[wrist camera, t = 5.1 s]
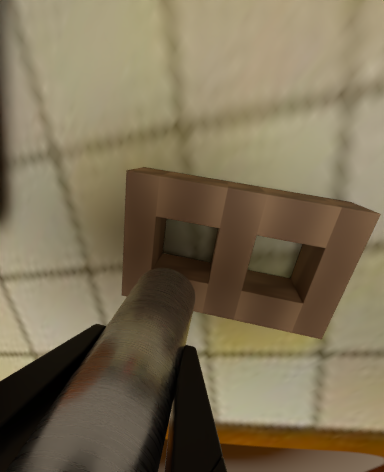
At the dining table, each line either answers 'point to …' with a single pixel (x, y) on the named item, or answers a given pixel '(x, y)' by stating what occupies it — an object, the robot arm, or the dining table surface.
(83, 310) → the dining table surface
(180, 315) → the peg
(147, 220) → the socket block
